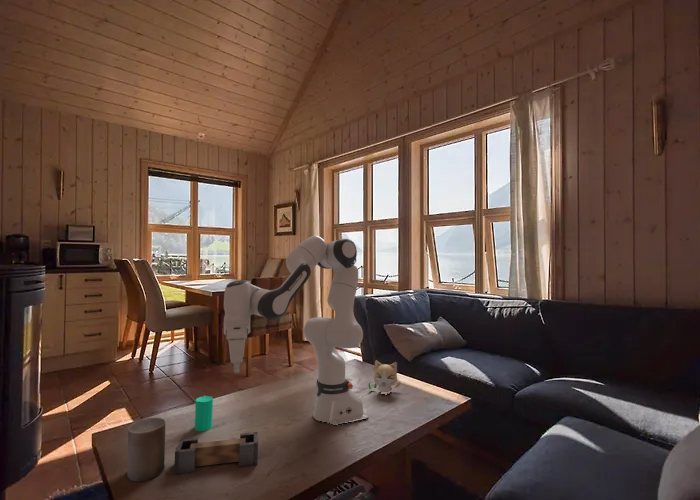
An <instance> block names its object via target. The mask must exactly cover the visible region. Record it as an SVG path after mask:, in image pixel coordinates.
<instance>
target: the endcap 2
mask: <svg viewBox="0 0 700 500" xmlns="http://www.w3.org/2000/svg"><path fill="white" fill-rule="evenodd" d="M241 438H246V442H245V443H240V453H239V461H238V467H239V468H245V467H251V466H258V461H259V460H258V458H259V456H258V455H259V454H258V453H259V434H258V431H255V432H254V431H253V432H245V433H243V432H242V433H240V435H239V439H241Z"/></svg>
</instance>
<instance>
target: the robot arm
mask: <svg viewBox="0 0 700 500" xmlns="http://www.w3.org/2000/svg"><path fill="white" fill-rule="evenodd" d="M357 250H358V249H357V246H356V244H355V243H354V241H353V240H352V239H349V238H339V239H336V240H332V241H329V242H328V243H327V242H326V241H325V240H324V239H323V238H322V237H321V236H320V235H311V236H309V237H307V238H306V239H304V240H303V241H301V242H300V243H299V244H298V245H296V247H294V248H293V249H292V250H291V251H290V252H289V254H288V255H287V257H286V259H285V265H286V268H287V269H288V272H289V273H290V275H288V277H287V278H286V279H285V281H284V282H283V283H282V284H281V285H280V286H279V287H277V288H274V289H266V288H262V287H259V286H256V285H253V284H252V283H251V282H249V281H248V280H246V279H244V280H243V279H240V280H234V281H231V282H229V283H227V284H226V285H225V288H224V294H223V310H224V316H223V334H224V335H225V337H226V340H227V342H228V350H229V358H230V363H231V364H233V373H234V374H236V373H237V374H238V373H240V367H241V363H242V362H243V360H244V354H245V345H246V340H247V339H248V335H249V334H250V333H251V316H252V315H256V316H259V317H262V318H264V319H267V320H268V321H277V320H279V319H281V318H283V317H284V316H285V314H286V313H287V311H288V309H289V307H290V305H291V303H292V301H293V299H294V298H295V297H296V296H297V294H298V293H299V291H301V289H302V288H303V287H304V285H305V284H306V282H308V279H309V278H310V276H311V272H312V270H313V269H314V268H315V267H316V266H318V267H320V268H322V269H326V270H329V269H332V270H333V277H332V281H331V284H330V287H329V288H330V289H329V292H328V296H327V300H326V301H327V304H328V307H329V308H330V309H331V310H333V312H334V314H335V315H334V318H331V317H322V316H320V317H319V316H317V317H311V318H309V319H308V320H307V321H306V323H305V324H304V328H303V335H304V337H305V339H306V340H307V341H308V342H309V344H310V345H311V346H312V348H313V350H314V353H315V356H316V360H317V379H316V386H315V387H316V388H315V393H316V398H315V406H314V408H313V409H314V410H313V413H312V417H313V419H315V420H316V421H318V422H320V421H322V422H321V423H324V422H327V423H326V424H329V423H330V424H329V425H331V424H334V425H336V424H341V423H345V422H349V421H353V420H356V419H361V418H366V417H367V416H366V415H364V413H367V412H366V411H368V410H367V408H366V407H365V408H363V407H364V405H363V401H362V399H361V397H360V396H359V395H358V394H357V393H356V392H355V391H353V387H354V385H353V383H351V382H350V381H349V380H348V379H347V378H346V361H345V358H343V356H341V354H339V352H338V350H337V349H336V348H340V349H346V350H347V349H356V348H358V347H359V346H360V345H361V343H362V341H363V338H364V330H363V328H362V326H361V324H359V322H358V321H357V319H356V317H355V313H354V304H355V298H356V293H357V289H358V283H359V268H358V267H357V266H356V265H355V264H356V262H357V255H358V254H357V253H358V251H357Z"/></svg>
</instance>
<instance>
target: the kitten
mask: <svg viewBox="0 0 700 500" xmlns="http://www.w3.org/2000/svg"><path fill="white" fill-rule="evenodd" d="M397 373H398V362H396V361H395V362H392V363H391V364H385V363H381V362H380V361H378V360H377V359H376V360H375V361H374V374H373V380H374V383H375V384H374V386H373V387H374V388H377V387H378V388H377V391H378V390H379V391H380V392H389V391H391V390H392V388H396V389H397V388H399V387H400V386H401V385H402V384H401V381H399V380H398V375H397ZM377 385H379V386H377ZM368 388H369V390H370V389H372V386H371V382H369V383H368ZM379 391H378V392H379ZM392 391H393V390H392Z"/></svg>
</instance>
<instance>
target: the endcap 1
mask: <svg viewBox="0 0 700 500" xmlns="http://www.w3.org/2000/svg"><path fill="white" fill-rule="evenodd" d="M192 443H199V437H196V438H195V437H194V438H185V439H179V441H178V443H177V446H176V449H175V452H174V469H173V475H174V476H179V475H186V474H195V470H196V467H195V450H196V448H193V449H190V446H191V444H192Z"/></svg>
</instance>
